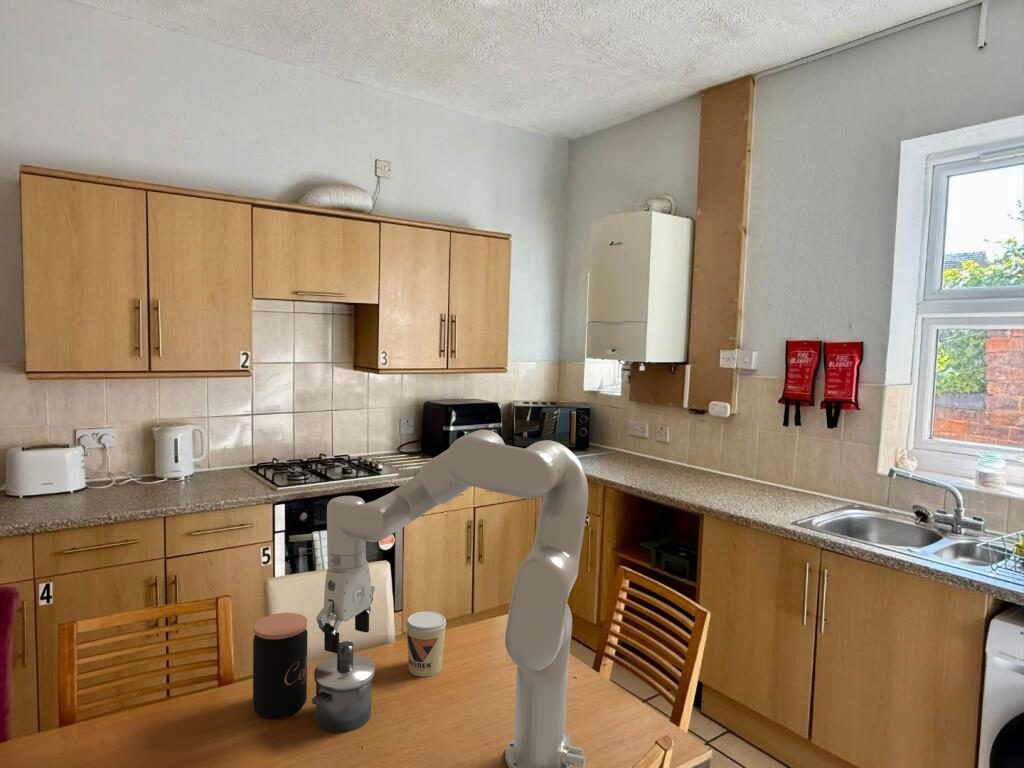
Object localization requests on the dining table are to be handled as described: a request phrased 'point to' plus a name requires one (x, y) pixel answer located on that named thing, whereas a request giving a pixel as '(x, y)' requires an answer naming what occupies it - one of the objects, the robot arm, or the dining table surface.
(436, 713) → the dining table surface
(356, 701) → the pot
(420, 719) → the dining table surface
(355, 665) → the lid
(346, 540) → the robot arm
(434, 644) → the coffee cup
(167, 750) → the dining table surface
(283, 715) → the coffee jar
